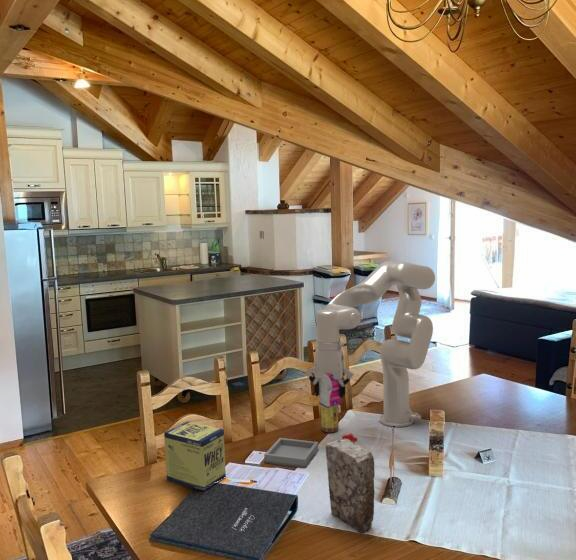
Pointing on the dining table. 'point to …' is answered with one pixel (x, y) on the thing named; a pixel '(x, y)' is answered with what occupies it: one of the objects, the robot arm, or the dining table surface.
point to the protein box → (195, 454)
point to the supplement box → (329, 391)
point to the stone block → (351, 483)
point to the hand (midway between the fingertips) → (330, 395)
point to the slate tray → (291, 452)
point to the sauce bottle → (329, 419)
